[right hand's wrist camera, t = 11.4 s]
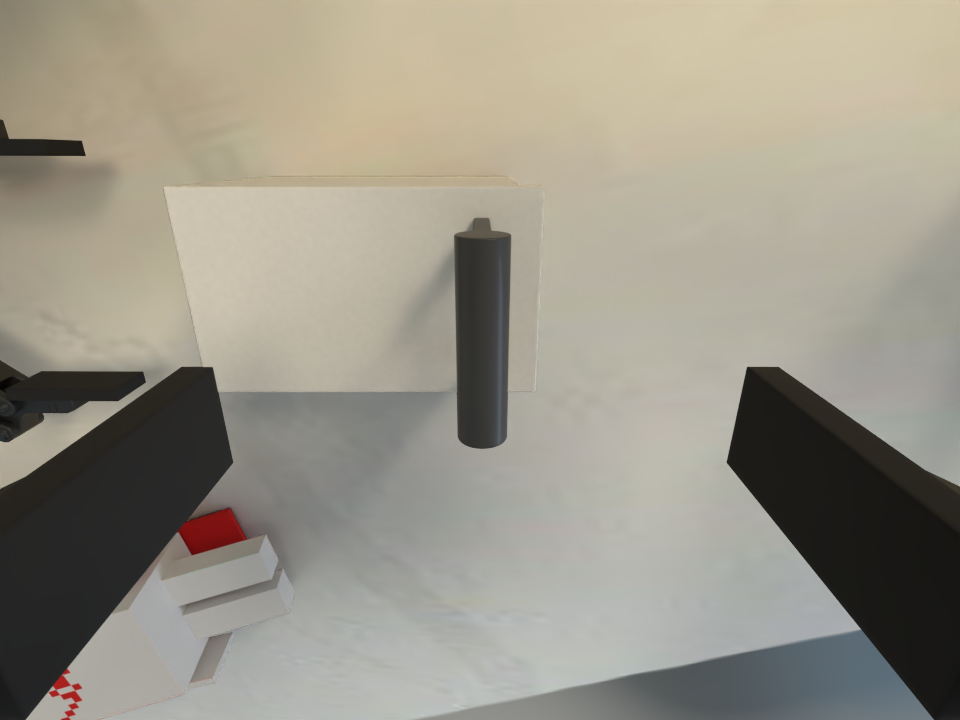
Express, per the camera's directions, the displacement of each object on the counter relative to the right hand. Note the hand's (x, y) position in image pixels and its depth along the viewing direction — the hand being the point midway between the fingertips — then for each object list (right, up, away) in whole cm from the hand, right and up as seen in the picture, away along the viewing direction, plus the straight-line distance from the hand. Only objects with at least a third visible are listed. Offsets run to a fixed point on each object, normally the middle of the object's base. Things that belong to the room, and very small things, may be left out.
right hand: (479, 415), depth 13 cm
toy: (-31, -17, +33) cm, 48 cm away
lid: (-5, +5, +12) cm, 14 cm away
